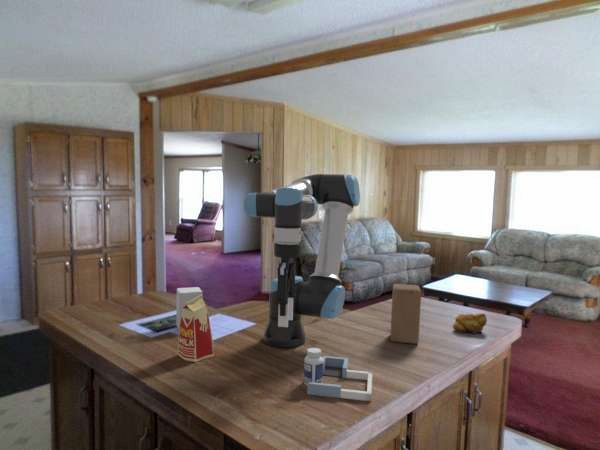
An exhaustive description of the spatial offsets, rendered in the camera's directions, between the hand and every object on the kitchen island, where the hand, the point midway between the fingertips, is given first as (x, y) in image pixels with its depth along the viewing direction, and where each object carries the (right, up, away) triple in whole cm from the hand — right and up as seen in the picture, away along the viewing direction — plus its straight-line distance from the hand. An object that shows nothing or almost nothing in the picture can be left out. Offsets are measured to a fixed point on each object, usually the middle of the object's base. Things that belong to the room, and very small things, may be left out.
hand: (285, 322), depth 129 cm
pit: (+14, -17, +8) cm, 23 cm away
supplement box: (-39, -12, +47) cm, 62 cm away
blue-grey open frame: (+13, -17, +2) cm, 21 cm away
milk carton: (-30, -15, +18) cm, 38 cm away
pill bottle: (+8, -17, 0) cm, 19 cm away
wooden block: (+43, -15, +40) cm, 61 cm away
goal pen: (+20, -18, -2) cm, 27 cm away
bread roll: (+71, -15, +53) cm, 90 cm away
